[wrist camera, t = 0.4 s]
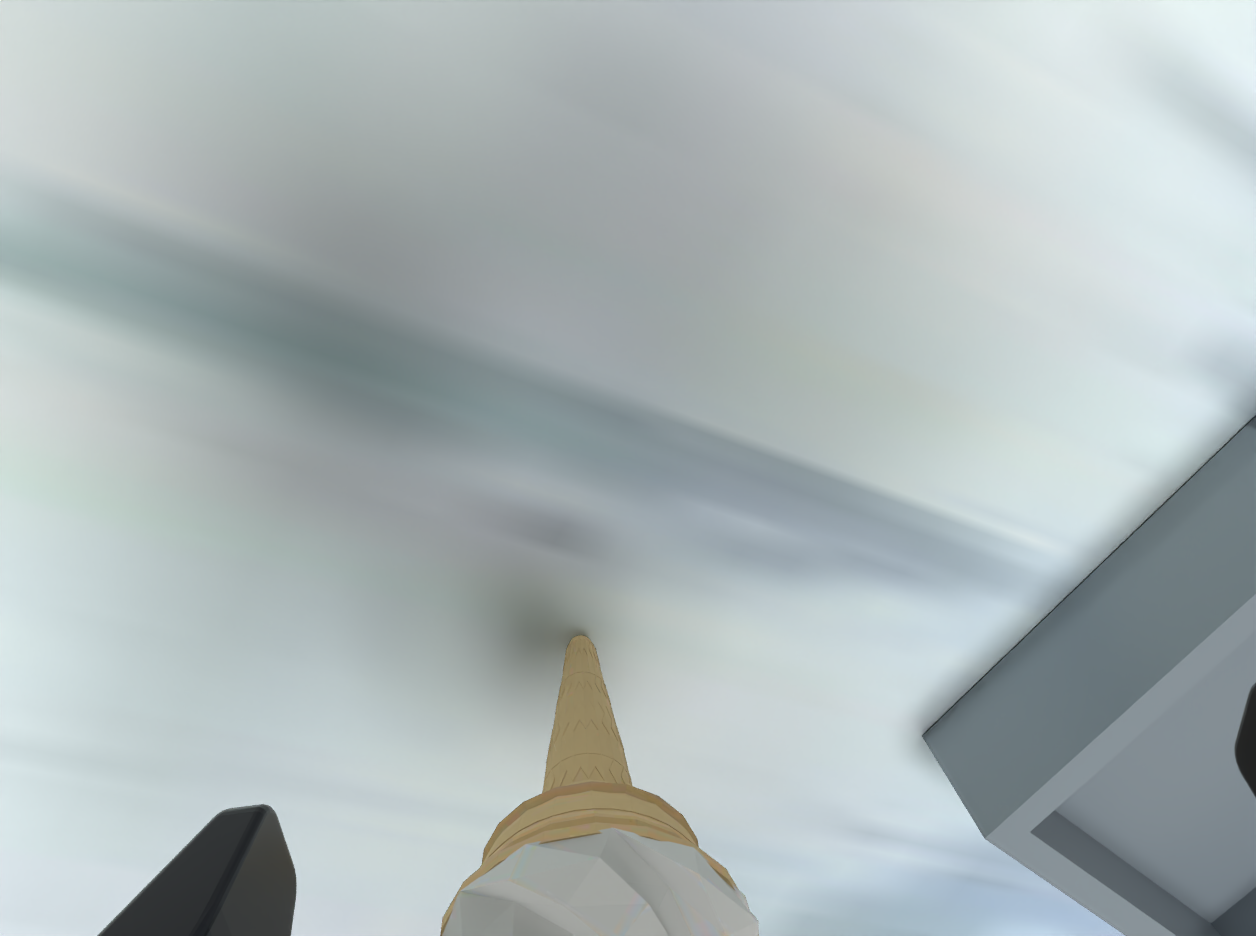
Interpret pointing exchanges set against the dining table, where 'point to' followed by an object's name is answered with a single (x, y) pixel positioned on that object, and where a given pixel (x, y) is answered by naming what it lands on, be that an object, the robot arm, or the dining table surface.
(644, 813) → the ice cream cone
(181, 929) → the robot arm
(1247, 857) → the bin
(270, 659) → the dining table surface
